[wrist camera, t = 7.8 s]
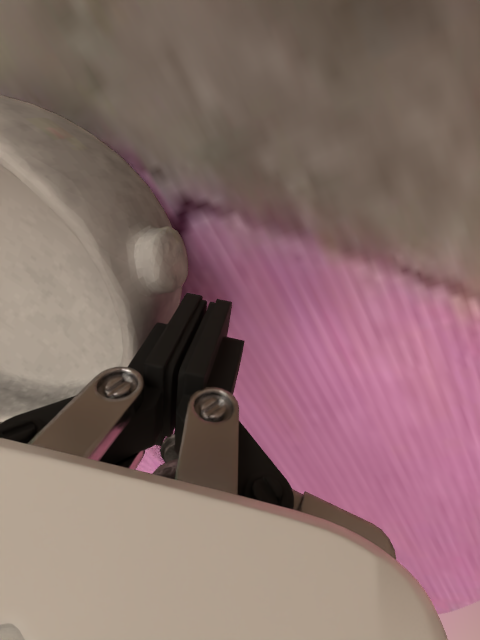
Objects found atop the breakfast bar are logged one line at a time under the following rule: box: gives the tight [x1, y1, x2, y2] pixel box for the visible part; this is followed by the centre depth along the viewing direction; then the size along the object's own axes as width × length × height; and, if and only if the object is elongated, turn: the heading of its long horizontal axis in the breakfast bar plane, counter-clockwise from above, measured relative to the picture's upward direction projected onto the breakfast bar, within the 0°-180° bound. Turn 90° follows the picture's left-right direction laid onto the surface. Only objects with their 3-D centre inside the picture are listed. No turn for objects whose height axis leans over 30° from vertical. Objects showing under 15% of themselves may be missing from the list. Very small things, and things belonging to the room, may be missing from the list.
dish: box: [0, 95, 188, 422], centre depth 14 cm, size 14×14×5 cm
